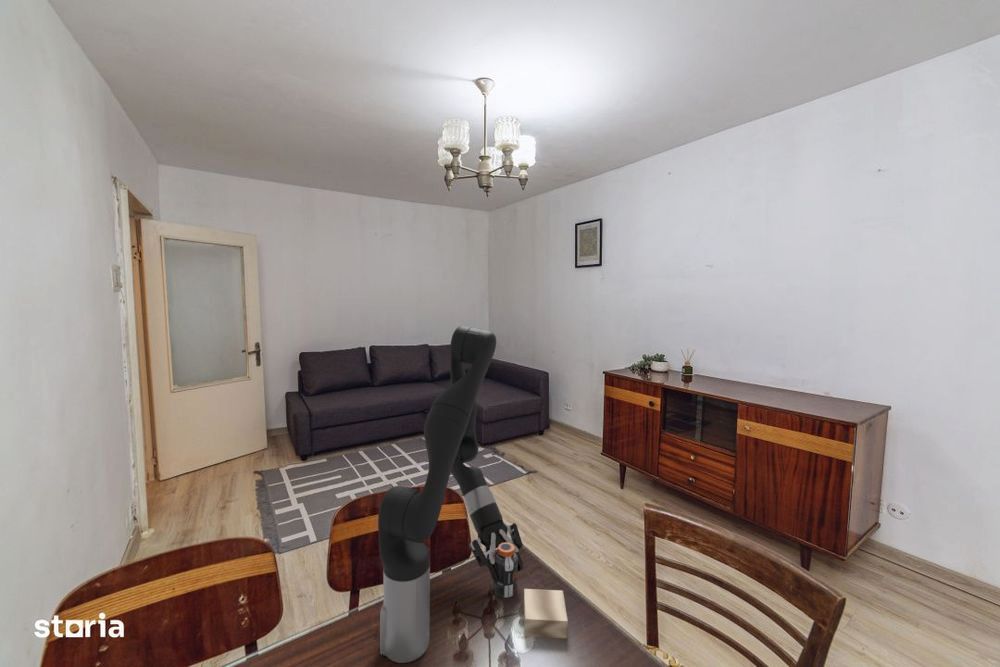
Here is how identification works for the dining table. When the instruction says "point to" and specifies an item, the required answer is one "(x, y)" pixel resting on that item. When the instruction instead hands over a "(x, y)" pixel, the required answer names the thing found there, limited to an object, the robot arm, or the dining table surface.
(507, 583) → the pill bottle
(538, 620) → the maple block
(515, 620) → the dining table surface
